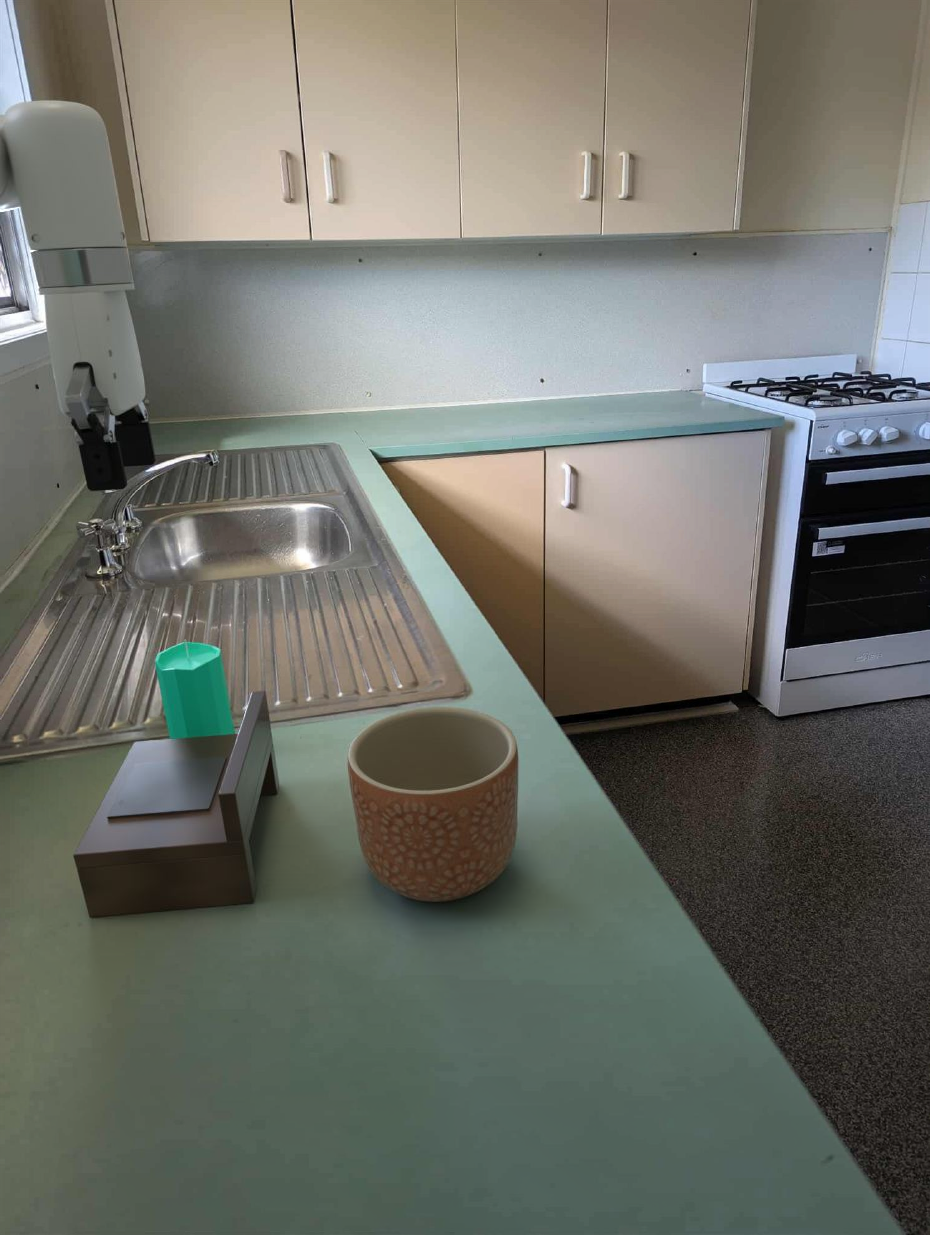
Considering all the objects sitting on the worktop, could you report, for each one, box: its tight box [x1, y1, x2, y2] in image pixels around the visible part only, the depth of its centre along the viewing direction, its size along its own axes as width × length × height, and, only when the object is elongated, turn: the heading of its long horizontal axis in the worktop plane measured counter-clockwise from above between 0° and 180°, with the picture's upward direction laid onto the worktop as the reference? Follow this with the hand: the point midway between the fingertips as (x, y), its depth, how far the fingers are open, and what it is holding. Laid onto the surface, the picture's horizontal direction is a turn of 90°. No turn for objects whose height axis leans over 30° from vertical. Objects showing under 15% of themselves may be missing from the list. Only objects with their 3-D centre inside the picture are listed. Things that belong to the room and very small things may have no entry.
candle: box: [154, 639, 236, 739], centre depth 83 cm, size 6×6×12 cm
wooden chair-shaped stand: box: [72, 690, 280, 918], centre depth 70 cm, size 12×16×10 cm
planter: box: [347, 706, 519, 903], centre depth 65 cm, size 12×12×11 cm
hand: (124, 476), depth 79 cm, fingers open, 9 cm apart
